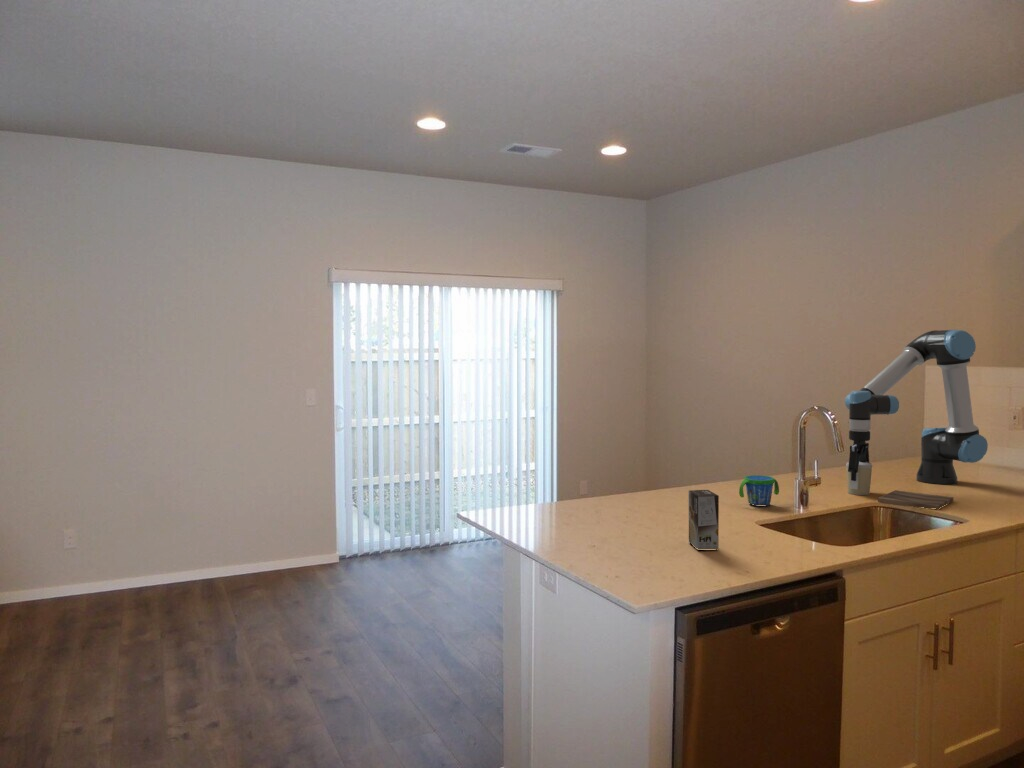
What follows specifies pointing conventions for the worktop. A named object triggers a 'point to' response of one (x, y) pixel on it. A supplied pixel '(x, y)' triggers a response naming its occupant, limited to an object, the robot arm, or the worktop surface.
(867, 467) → the coffee cup
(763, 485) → the snack cup
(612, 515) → the worktop surface
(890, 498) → the walnut board
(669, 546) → the worktop surface
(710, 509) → the coffee box
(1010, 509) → the worktop surface
